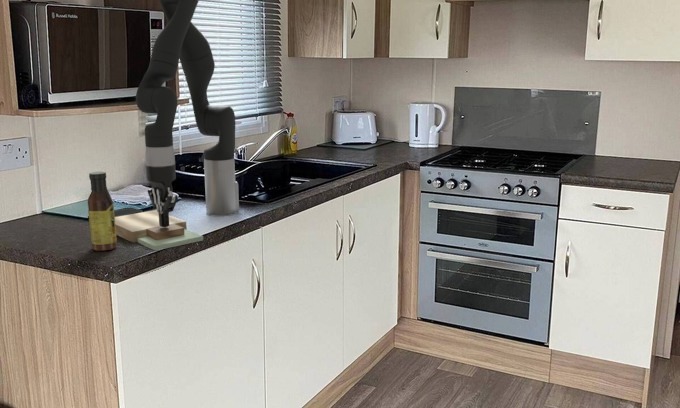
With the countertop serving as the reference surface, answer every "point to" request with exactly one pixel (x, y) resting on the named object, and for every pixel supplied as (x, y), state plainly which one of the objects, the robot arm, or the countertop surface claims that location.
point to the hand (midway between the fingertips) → (164, 226)
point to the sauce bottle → (101, 214)
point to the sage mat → (170, 240)
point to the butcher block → (141, 224)
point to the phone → (126, 211)
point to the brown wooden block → (165, 232)
